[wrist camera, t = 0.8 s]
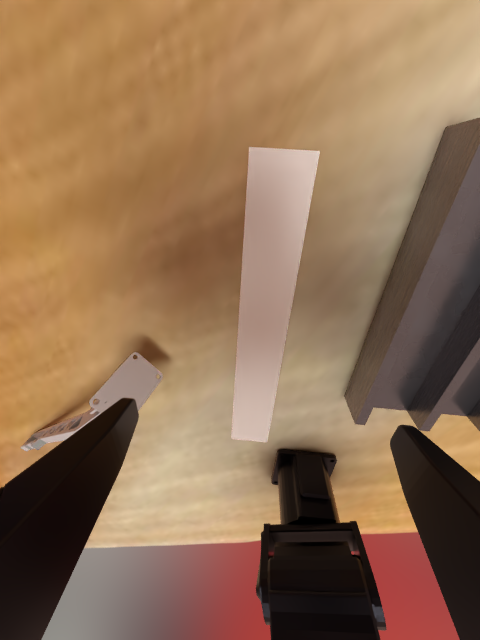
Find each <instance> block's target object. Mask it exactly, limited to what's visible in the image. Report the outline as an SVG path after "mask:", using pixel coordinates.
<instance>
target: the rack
mask: <svg viewBox="0 0 480 640" xmlns="http://www.w3.org/2000/svg"><path fill="white" fill-rule="evenodd" d="M344 397H345V399H346V402H347V404H348V407H349V409H350V412H351V415H352V417H353V420H354V422H355V424H360V425H365V424H366V422H367V420H368V418H369V415H370V413H371V411H372V409H373V407H376V408H386V409H397V410H407V412H408V413H409V415H410V416H411V418H412V420H413V421H414V423H415V424H416V426H417V427H418V429H419V430H422V431H430V429H431V428H432V427H433V425H434V424H435V422H436V421H437V419H438V418H439V416H440V415H441V414H449V415H460V416H467V417H468V418H469V419H470V421H471V422H472V423H473V424H474V425H475V426H476V427H477V429H478V430H479V431H480V118H477V119H473V120H470V121H466V122H463V123H459V124H456V125H452V126H449V127H446V129H445V131H444V134H443V137H442V139H441V142H440V145H439V147H438V150H437V153H436V155H435V158H434V161H433V163H432V166H431V169H430V171H429V174H428V176H427V179H426V182H425V184H424V187H423V190H422V192H421V195H420V198H419V200H418V203H417V206H416V208H415V211H414V214H413V216H412V219H411V221H410V224H409V227H408V229H407V232H406V235H405V237H404V240H403V243H402V245H401V248H400V251H399V253H398V256H397V259H396V261H395V264H394V266H393V269H392V272H391V274H390V277H389V280H388V282H387V285H386V288H385V290H384V293H383V296H382V298H381V301H380V303H379V306H378V309H377V311H376V314H375V317H374V319H373V322H372V325H371V327H370V330H369V333H368V335H367V338H366V341H365V343H364V346H363V348H362V351H361V354H360V356H359V359H358V362H357V364H356V367H355V370H354V372H353V375H352V378H351V380H350V383H349V386H348V388H347V391H346V393H345V396H344Z"/></svg>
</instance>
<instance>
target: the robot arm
mask: <svg viewBox="0 0 480 640" xmlns="http://www.w3.org/2000/svg"><path fill="white" fill-rule="evenodd" d="M138 417H139V414H138V409H137V404H136V400H135V399H134V398H121V399H120V400H118V401H117V402H116V403H114V404H113V405H112V406H110V407H109V408H108V409H106V410H105V411H103V412H102V413H101V414H99V415H98V416H97V417H95V418H94V419H93V420H91V421H90V422H89V423H87V424H86V425H85V426H83V427H82V428H81V429H79V430H78V431H77V432H75V433H74V434H73V435H71V436H70V437H69V438H67V439H66V440H64V441H63V442H62V443H60V444H59V445H58V446H56V447H55V448H54V449H52V450H51V451H50V452H48V453H47V454H46V455H44V456H43V457H42V458H40V459H39V460H38V461H36V462H35V463H34V464H32V465H31V466H30V467H28V468H27V469H25V470H24V471H23V472H21V473H20V474H19V475H17V476H16V477H15V478H13V479H12V480H11V481H9V482H8V483H7V484H5V486H4V487H1V488H0V640H41V639H42V637H43V635H44V632H45V630H46V628H47V626H48V624H49V622H50V620H51V617H52V615H53V613H54V611H55V609H56V607H57V605H58V602H59V600H60V598H61V596H62V594H63V592H64V590H65V587H66V585H67V583H68V581H69V579H70V577H71V574H72V572H73V570H74V568H75V566H76V564H77V561H78V559H79V557H80V555H81V553H82V551H83V549H84V547H85V544H86V542H87V540H88V538H89V536H90V534H91V532H92V529H93V527H94V525H95V523H96V521H97V519H98V517H99V514H100V512H101V510H102V508H103V506H104V504H105V501H106V499H107V497H108V495H109V493H110V491H111V489H112V486H113V484H114V482H115V480H116V478H117V476H118V474H119V471H120V469H121V467H122V464H123V462H124V459H125V456H126V453H127V450H128V448H129V445H130V442H131V439H132V436H133V433H134V430H135V428H136V425H137V422H138ZM390 447H391V450H392V454H393V458H394V461H395V465H396V468H397V472H398V475H399V479H400V482H401V486H402V489H403V492H404V495H405V498H406V501H407V504H408V507H409V509H410V512H411V514H412V517H413V519H414V522H415V525H416V527H417V530H418V532H419V535H420V538H421V540H422V543H423V545H424V548H425V551H426V553H427V556H428V558H429V561H430V563H431V566H432V569H433V571H434V574H435V576H436V579H437V582H438V584H439V587H440V589H441V592H442V594H443V597H444V600H445V602H446V605H447V607H448V610H449V612H450V615H451V618H452V620H453V623H454V626H455V628H456V631H457V633H458V636H459V638H460V640H480V481H478V480H477V479H476V478H475V477H474V476H472V475H471V474H470V473H469V472H468V471H467V470H465V469H464V468H463V467H462V466H461V465H459V464H458V463H457V462H456V461H455V460H453V459H452V458H451V457H450V456H449V455H448V454H446V453H445V452H444V451H443V450H442V449H440V448H439V447H438V446H437V445H436V444H434V443H433V442H432V441H431V440H430V439H429V438H427V437H426V436H425V435H424V434H423V433H421V432H420V431H419V430H418V429H417V428H415V427H413V426H409V425H400V426H398V428H397V429H396V431H395V433H394V434H393V436H392V438H391V441H390ZM336 462H337V459H336V456H335V455H329V454H319V453H310V452H300V451H290V450H279V451H278V452H277V456H276V460H275V465H274V469H273V474H272V478H271V479H272V484H275V485H278V486H279V502H280V519H281V524H278V525H270V524H264V531H263V532H261V559H260V565H259V572H258V578H257V585H256V593H257V596H258V598H259V599H260V601H261V604H262V609H263V615H264V620H265V623H266V625H270V629H271V640H380V636H379V632H378V630H386V623H385V618H384V613H383V609H382V605H381V601H380V597H379V593H378V589H377V586H376V583H375V579H374V576H373V572H372V569H371V566H370V563H369V560H368V557H367V554H366V550H365V547H364V544H363V541H362V538H361V535H360V532H359V528H358V525H357V522H356V521H350V522H349V523H340V520H339V516H338V512H337V508H336V503H335V499H334V495H333V490H332V486H331V482H330V476H331V474H332V471H333V469H334V467H335V464H336ZM351 551H354V554H355V555H352V554H351Z"/></svg>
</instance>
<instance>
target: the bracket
mask: <svg viewBox="0 0 480 640" xmlns="http://www.w3.org/2000/svg"><path fill="white" fill-rule="evenodd" d="M133 355H137V358H136V359H133ZM157 374H159V375H160V378H159V379H157V378H156V375H157ZM162 378H163V374H162V373H161V372H160V371H159V370H158V369H156V368H155V367H154V366H153V365H152V364H151V363H149V362H148V361H147V360H146V359H145V358H144V357H142V356H141V355H140V354H139V353H137V352H134V353H132V354H131V355H130V356H129V357H128V358H127V359H126V360H125V361H124V363H122V364H121V365H120V366H119V367H118V369H117V370H116V371H115V372H114V373H113V374H112V375H111V377H110V378H109V379H108V380H107V381H106V382H105V384H104V385H103V386H102V387H101V388H100V389H99V390H98V391H97V392H96V394H95V395H94V396H93V397H92V398H91V399H90V401H89V404H90V406H91V409H90V410H89V411H87V412H85V413H83V414H80V415H78V416H75V417H73V418H70V419H68V420H65V421H63V422H60V423H58V424H55V425H53V426H50V427H48V428H45V429H42V430H40V431H37V432H36V433H34V434H33V435H32V436H31V437H30V438H29V439H28V440H27V441H26V442H25V443H24V444H23V445H22V446H21V449H23V450H25V451H28V450H31V449H34V448H35V449H37V450H39V449H40V448H41V447H42V446H43V445H45V444H46V443H51V442H57V441H63V440H66V439H67V438H69V437H70V436H71V435H73V434H74V433H75V432H77V431H78V430H79V429H81V428H82V427H83V426H85V425H86V424H87V423H89V422H90V421H91V420H93V419H94V418H95V417H97V416H98V415H99V414H101V413H102V412H103V411H105V410H106V409H108V408H109V407H110V406H112V405H113V404H114V403H116V402H117V401H118V400H120V399H121V398H134V399H135V400H136V404H137V409H138V411H139V410H140V408H141V407H142V406H143V404H144V403H145V401H146V400H147V399H148V397H149V396H150V395H151V393H152V392H153V391H154V389H155V388H156V387H157V385H158V384H159V383H160V381H161V380H162ZM94 399H96V401H95V402H94V404H93V400H94Z"/></svg>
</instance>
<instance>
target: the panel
mask: <svg viewBox="0 0 480 640" xmlns="http://www.w3.org/2000/svg"><path fill="white" fill-rule="evenodd" d="M319 154H320V151H311V150H295V149H278V148H262V147H249V160H248V176H247V192H246V208H245V225H244V241H243V257H242V273H241V290H240V306H239V322H238V338H237V354H236V371H235V387H234V403H233V419H232V436H231V439H238V440H248V441H258V442H267V441H268V436H269V430H270V425H271V419H272V414H273V408H274V403H275V397H276V392H277V386H278V380H279V375H280V369H281V364H282V358H283V353H284V347H285V342H286V336H287V331H288V325H289V320H290V314H291V309H292V303H293V298H294V292H295V287H296V281H297V276H298V270H299V265H300V259H301V253H302V248H303V242H304V237H305V231H306V226H307V220H308V215H309V209H310V204H311V198H312V193H313V187H314V182H315V176H316V171H317V165H318V160H319Z"/></svg>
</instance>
